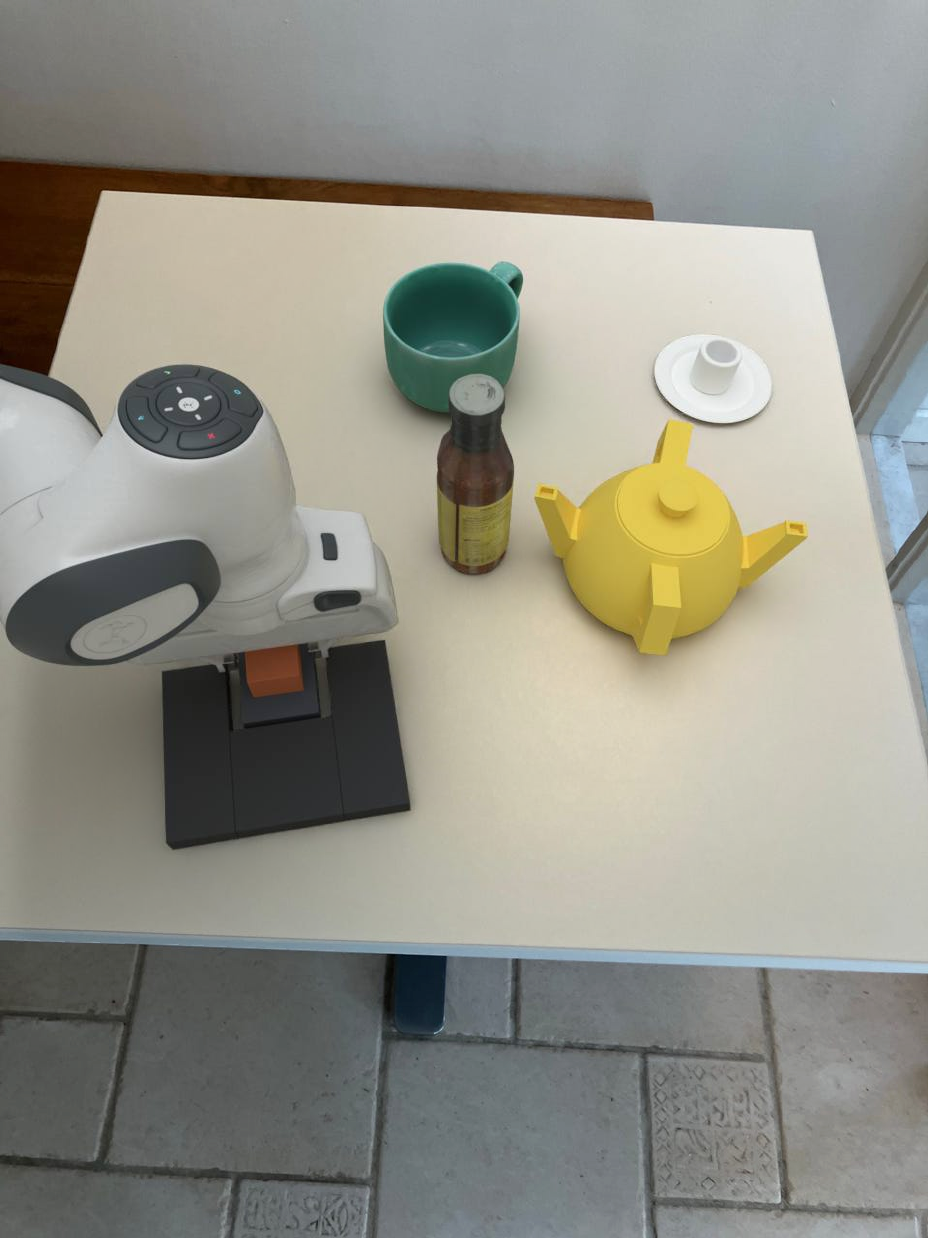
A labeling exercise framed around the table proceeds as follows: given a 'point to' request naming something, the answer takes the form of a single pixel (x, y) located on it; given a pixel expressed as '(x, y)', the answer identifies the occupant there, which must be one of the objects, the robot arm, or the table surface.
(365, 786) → the base pad
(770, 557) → the teapot
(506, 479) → the sauce bottle
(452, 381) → the mug
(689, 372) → the candle holder
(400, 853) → the table surface
